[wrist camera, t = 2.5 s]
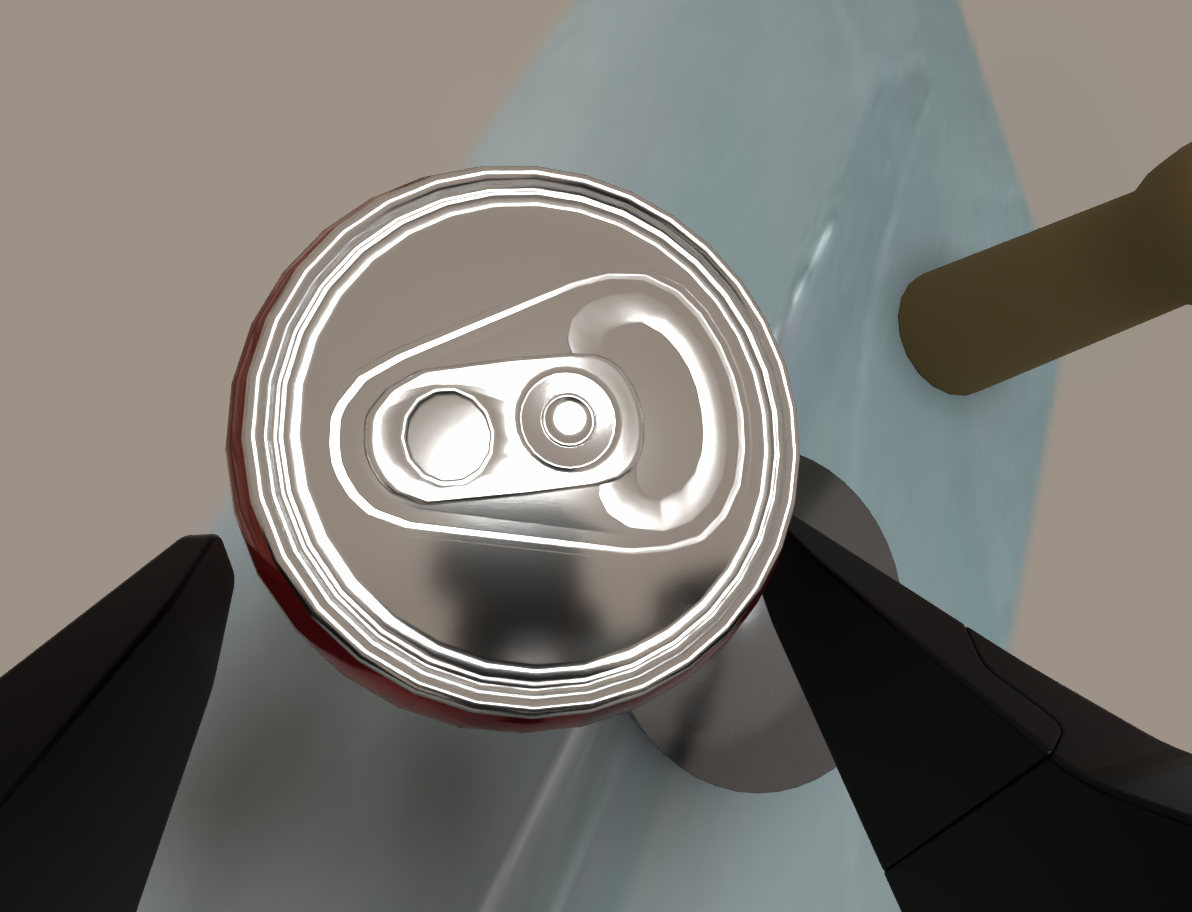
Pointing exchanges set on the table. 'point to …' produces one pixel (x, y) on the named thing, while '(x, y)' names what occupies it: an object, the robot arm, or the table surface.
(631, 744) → the table surface
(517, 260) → the soda can
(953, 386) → the cork
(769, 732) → the flange plate
